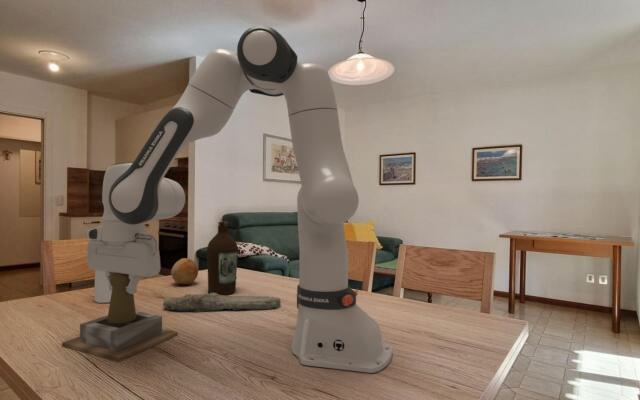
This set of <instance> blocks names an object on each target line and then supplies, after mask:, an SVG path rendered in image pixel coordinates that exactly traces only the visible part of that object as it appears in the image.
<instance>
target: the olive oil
mask: <svg viewBox="0 0 640 400" xmlns="http://www.w3.org/2000/svg"><path fill="white" fill-rule="evenodd" d="M228 231H229V225H228V221H218V225H217V233H216V234H214V236H213V237H212V238H211V240H210V241H209V242H208V244H207V247H206V258H207V262H206V263H207V294H210V293H217V294H218V295H223V296H224V295H225V296H230V295H233V294H235V293H236V291H237V290H236V289H237V286H236V285H237V268H238V256H239V254H238V253H239V248H238V243H237V242H236V240H235V238H234V237H232V236H231V234H230V233H229V232H228Z"/></svg>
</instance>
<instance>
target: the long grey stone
mask: <svg viewBox="0 0 640 400" xmlns="http://www.w3.org/2000/svg"><path fill="white" fill-rule="evenodd" d="M281 302H282V301H281V298H279V297H274V296H268V295H261V296H259V295H256V296H255V295H239V296H238V295H235V296H230V295H218V294H217V293H210V294H209V293H203V294H197V293H196V294H185V295H183V296H178V297H174V296H172V297H168V298H166V299H164V300H163V304H162V305H163V307H164V308H165V309H167V310H172V311H178V312H179V311H181V312H195V313H199V312H208V311H212V312H213V311H222V310H224V309H227V310H233V311H237V310H249V311H251V310H252V311H253V310H254V311H256V310H257V311H262V310H269V309H277V308H279V307H281Z"/></svg>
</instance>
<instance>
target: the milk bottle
mask: <svg viewBox="0 0 640 400" xmlns="http://www.w3.org/2000/svg"><path fill="white" fill-rule="evenodd" d="M111 293H112V291H110V290H109V283H108V281H107V278H106V276H105V271H100V270H94V302H95V303H98V304H107V303H109V304H110V299H111Z"/></svg>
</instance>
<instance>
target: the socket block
mask: <svg viewBox="0 0 640 400" xmlns="http://www.w3.org/2000/svg"><path fill="white" fill-rule="evenodd" d="M135 311H136V319H134V320H132V321H130V322H125V323H109V322H107V318H108V314H107V315H105V316H101V317H98V318H95V319H92V320H89V321H86V322H82V323H80V324H79V336H78V337H74V338H71V339H69V340H66V341H63V342H61V347H63V348H68V349H71V350H75V351H78V352H82V353H86V354H89V355H94V356H97V357H100V358H104V359H107V360H111V361H115V362H118V363H119V362H121V361H123V360H126V359H127V358H130V357H131V356H134V355H136V354H137V355H138V353H141V352H143V351H145V350H148V349H150V348H153V347H154V346H156V345H159V344H161V343H163V342H165V341H168V340H170V339H172V338H174V337H177V336H178V335H179V334H178V331H177V330H170V329H166V328H163V316H162V315H158V314H155V313H154V314H153V313H147V312H142V311H139V310H138V311H137V310H135Z"/></svg>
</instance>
